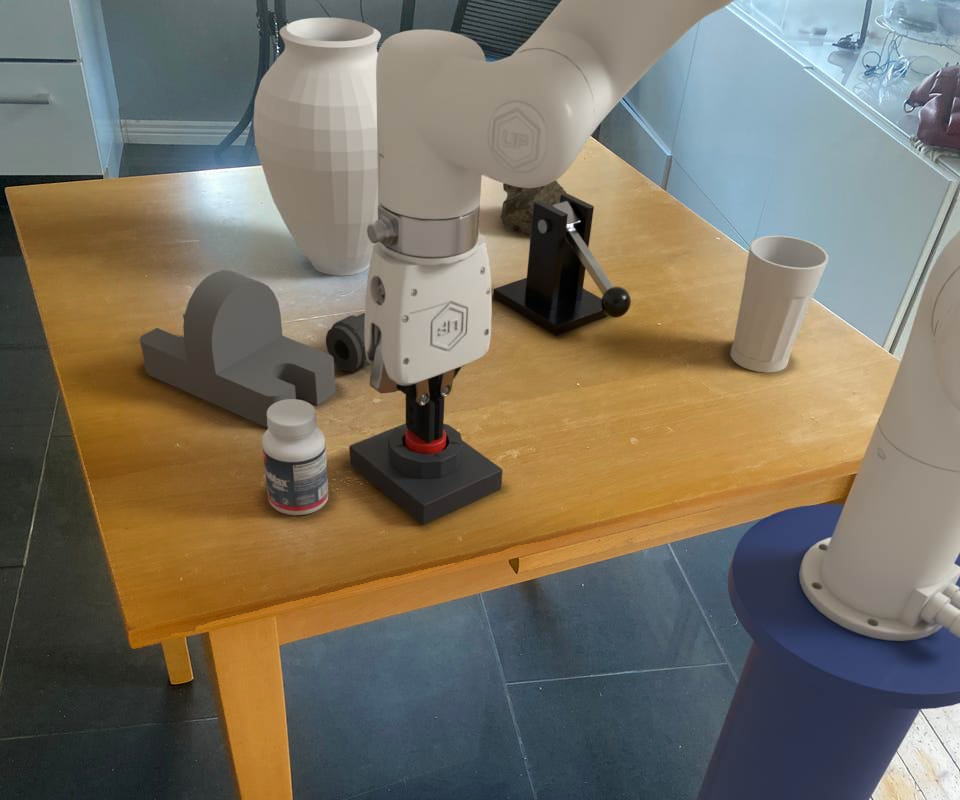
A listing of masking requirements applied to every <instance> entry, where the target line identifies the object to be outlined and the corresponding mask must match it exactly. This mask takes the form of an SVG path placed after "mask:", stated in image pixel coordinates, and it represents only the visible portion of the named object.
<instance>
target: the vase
mask: <svg viewBox="0 0 960 800" xmlns="http://www.w3.org/2000/svg"><path fill="white" fill-rule="evenodd" d="M279 35H280V37H281V39H282V41H283V43H284V46H285V47H284V50H283V51H282V52H281V54H280V55H278V57H277V58H276V60H275V61H274V62H273V64H272V65H271V66H270V67H269V69H268V70H267V71H266V73H264V75H263V77H262V78H261V80H260V82H259V86H258V89H257V92H256V95H255V99H254V107H253V136H254V146H255V149H256V152H257V155H258V158H259V161H260V164H261V167H262V171H263V175H264V177H265V180H266V184H267V187H268V191H269V193H270V196H271V199H272V201H273V203H274V205H275V207H276V209H277V211H278V213H279V215H280V217H281V220H282V221H283V223H284V224H285V226H286V228H287V230H288V231H289V233H290V235H291V237H292V239H293V241H294V242H295V244H296V245H297V247H298V249H299V250H300V251H301V253H302V254H303V255H304V257H305V258H306V259H307V260H309V262H310V263H311V265H312V267H313V268H314V269H315V270H316V271H317V272H319V273H322V274H325V275H329V276H337V277H348V276H354V275H358V274H361V273H364V272H365V271H367V270H369V266H370V260H371V255H372V250H373V246H374V245H375V244H377V243H372V242H371V241H370V239H369V237H368V234H367V228H368V225H370V224H373V223H375V222H376V221H377V220H378V162H377V99H376V61H377V55H378V52H379V51H378V50H377V49H378V43H379V42H380V39H381V37H382V34H381V32H380V31H379V30H378V29H376V28H374V27H373V26H371V25H369V24H367V23H365V22H363V21H358V20H354V19H350V18H349V19H348V18H339V17H310V18H302V19H298V20H295V21H292V22H290V23H287V24H286V25H284V26H282V27H281V28H280V29H279Z"/></svg>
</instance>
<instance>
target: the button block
mask: <svg viewBox="0 0 960 800" xmlns="http://www.w3.org/2000/svg"><path fill="white" fill-rule="evenodd" d="M443 429H444V431H445V432H446V449H445V450H443V451H440V452H438V453H436V454H420V453H416V452H412V451H410V450H409V449H407V448H406V447H405V434H406V431H407V426H406V422H405V423H403V424H400V425H398V426H395V427H393V428H391V429H388V430H385V431H382V432H381V433H378V434H375V435H373V436H370V437H367V438H365V439H363V440H360V441H358V442H355V443H353V444H351V445H349V446H348V449H349V466H350V467H351V468H353V470H355V471H356V472H357V473H358V474H360V475H361V476H362V477H364V478H365V480H367V481H368V482H370V483H371V484H372V485H373V486H374V487H376V488H377V489H378V490H379V491H381V492H382V493H383V494H384V495H385V496H387V497H388V498H389V499H390V500H391V501H392V502H394V503H395V505H397V506H399V507H400V508H401V509H403V511H405V512H406V513H407V514H408V515H410V516H411V517H412V518H414V519H415V520H416V522H418V523H419V524H421V526H426V525H428V524H429V523H432V522H434V521H436V520H438V519H441V518H442V517H445V516H446V515H447V516H448V514H451V513H454V512H455V511H457V510H460V509H462V508H464V507H467V506H468V505H470V504H472V503H474V502H476V501H479V500H481V499H483V498H485V497H487V496H489V495H492V494H494V493H496V492H498V491H500V490H501V489H502V484H503V483H502V481H503V471H504V469H503V468H501V467H500V466H498V464H496V463H495V462H493V461H492V460H490V459H489V458H487V457H486V456H485V455H483V454H482V453H481V452H479V451H478V450H477V449H475V448H474V447H473V446H471V445H470V444H468V443H467V442H466V441H464V440H463V438H462V435H461V433H460V431H458V430H457V429H455V428H454V427H453V426H451V425H450V424H447V423H444V422H443Z"/></svg>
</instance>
